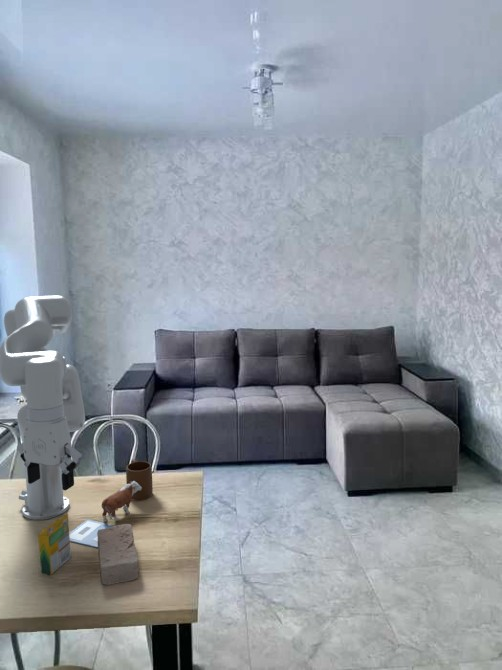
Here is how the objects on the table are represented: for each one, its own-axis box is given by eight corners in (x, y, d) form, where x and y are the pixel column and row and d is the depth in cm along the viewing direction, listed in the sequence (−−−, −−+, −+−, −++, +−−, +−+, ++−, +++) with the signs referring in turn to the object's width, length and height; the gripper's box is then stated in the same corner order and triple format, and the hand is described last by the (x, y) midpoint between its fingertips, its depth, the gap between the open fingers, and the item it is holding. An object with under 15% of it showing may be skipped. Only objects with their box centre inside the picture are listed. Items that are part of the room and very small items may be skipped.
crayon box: (61, 554, 124) (58, 510, 122) (71, 557, 123) (68, 512, 121) (40, 572, 117) (36, 526, 115) (51, 575, 116) (47, 528, 114)
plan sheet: (62, 539, 130) (62, 538, 130) (87, 520, 139) (87, 519, 139) (108, 550, 125) (108, 549, 125) (131, 529, 135) (131, 528, 134)
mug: (121, 486, 159) (120, 458, 158) (145, 481, 162) (144, 454, 161) (130, 503, 149) (128, 473, 147) (155, 498, 152) (154, 468, 150)
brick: (140, 578, 114) (139, 560, 114) (101, 586, 112) (100, 567, 111) (131, 539, 130) (131, 522, 129) (97, 545, 127) (96, 528, 126)
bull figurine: (144, 506, 147) (143, 480, 145) (108, 527, 136) (106, 499, 134) (134, 502, 149) (133, 476, 148) (97, 522, 138) (95, 494, 137)
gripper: (2, 413, 113) (9, 485, 116) (66, 422, 107) (71, 498, 110) (28, 404, 120) (33, 472, 123) (88, 411, 114) (92, 483, 117)
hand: (51, 484), depth 116 cm, fingers open, 9 cm apart
